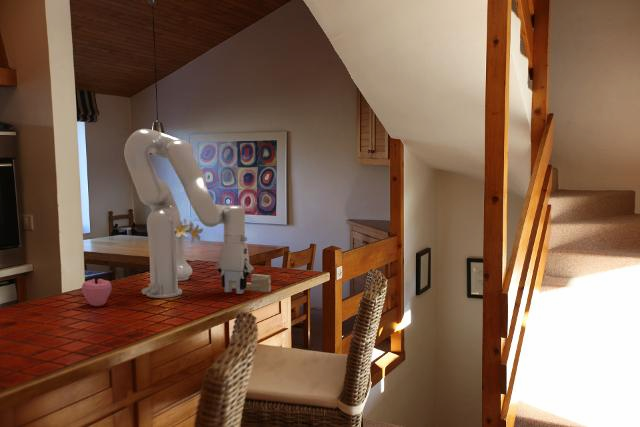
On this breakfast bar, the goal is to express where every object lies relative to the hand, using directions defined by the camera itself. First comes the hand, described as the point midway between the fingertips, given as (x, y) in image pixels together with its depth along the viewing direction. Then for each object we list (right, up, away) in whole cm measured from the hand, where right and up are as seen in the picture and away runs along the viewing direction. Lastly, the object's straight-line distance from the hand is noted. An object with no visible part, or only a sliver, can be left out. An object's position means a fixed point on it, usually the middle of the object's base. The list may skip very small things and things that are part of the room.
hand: (234, 287), depth 214 cm
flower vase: (-25, 0, +26) cm, 36 cm away
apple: (-44, -4, -16) cm, 47 cm away
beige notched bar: (+5, -2, +6) cm, 8 cm away
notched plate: (0, -2, 0) cm, 2 cm away
